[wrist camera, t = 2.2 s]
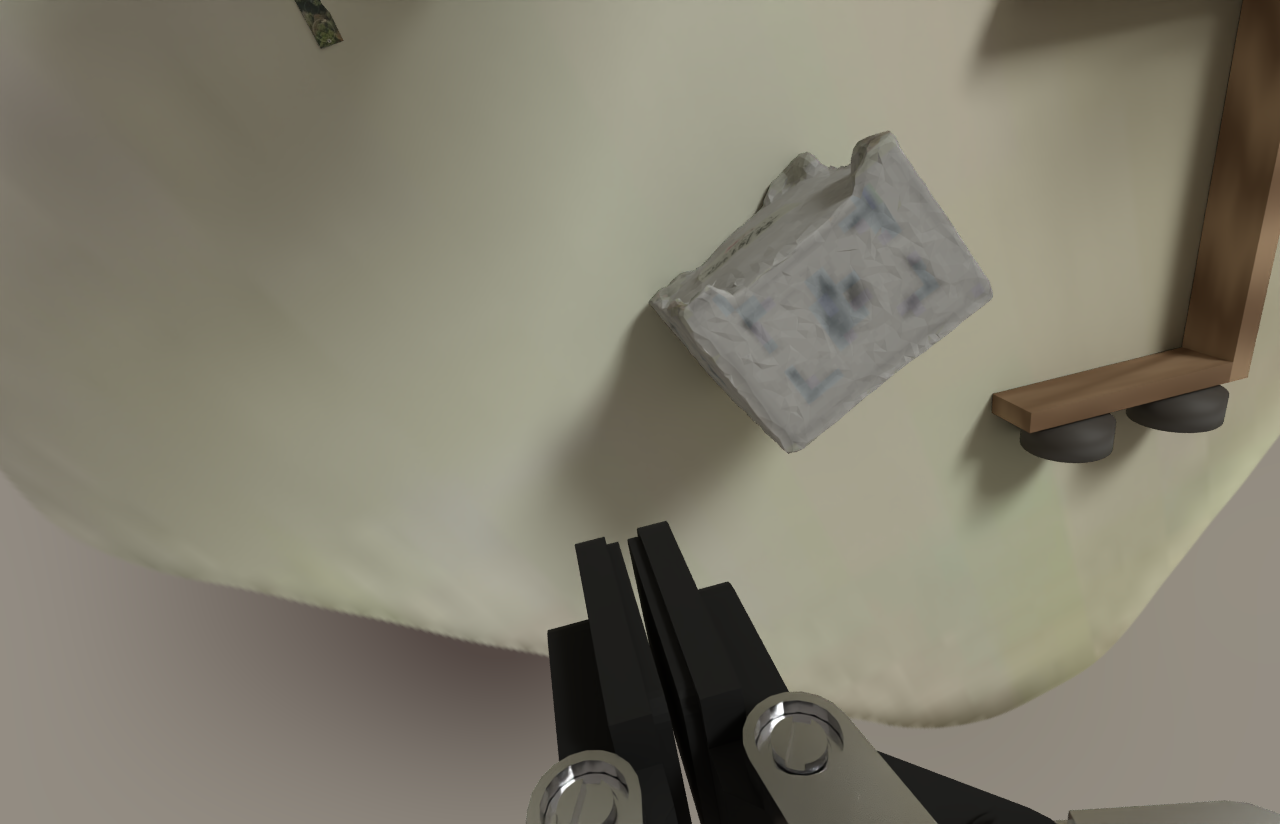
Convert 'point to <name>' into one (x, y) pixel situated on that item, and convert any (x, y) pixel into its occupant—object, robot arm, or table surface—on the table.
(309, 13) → the eiffel tower figurine
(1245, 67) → the chassis bay
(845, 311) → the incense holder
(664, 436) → the table surface
